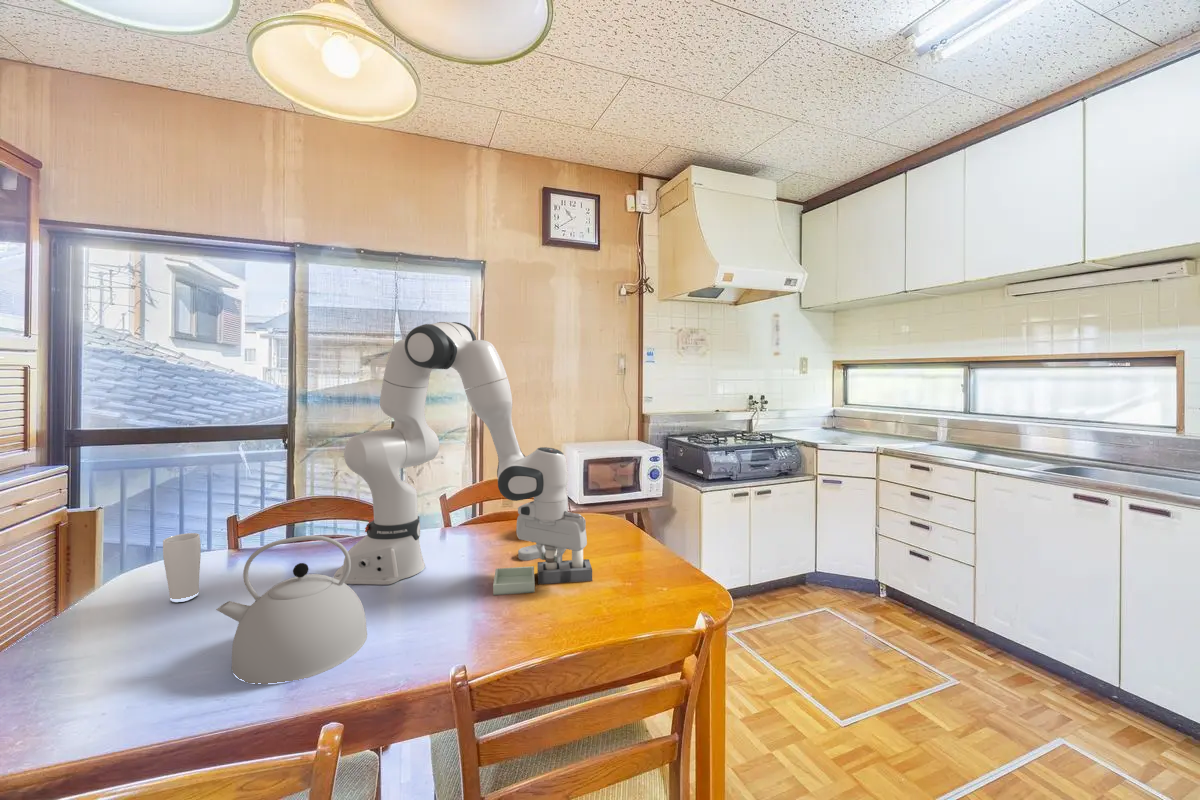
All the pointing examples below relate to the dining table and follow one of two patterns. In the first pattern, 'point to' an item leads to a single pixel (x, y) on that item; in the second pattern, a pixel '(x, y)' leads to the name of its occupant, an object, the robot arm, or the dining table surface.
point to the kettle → (296, 624)
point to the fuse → (577, 559)
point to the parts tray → (514, 580)
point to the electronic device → (529, 553)
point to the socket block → (564, 573)
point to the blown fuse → (550, 557)
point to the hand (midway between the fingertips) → (551, 560)
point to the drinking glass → (182, 564)
